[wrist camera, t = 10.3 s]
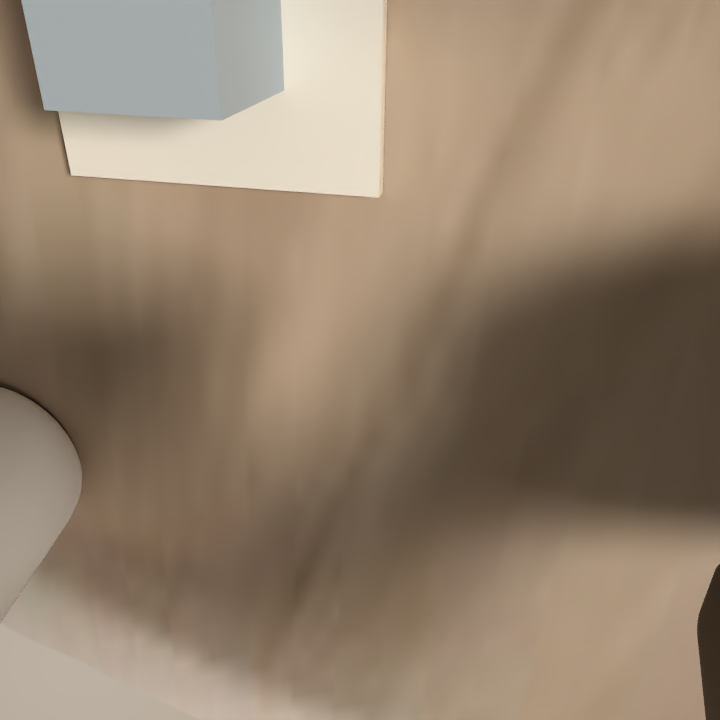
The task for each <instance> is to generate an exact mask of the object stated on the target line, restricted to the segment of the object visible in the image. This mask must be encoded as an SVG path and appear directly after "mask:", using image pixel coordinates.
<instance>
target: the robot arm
mask: <svg viewBox="0 0 720 720" xmlns="http://www.w3.org/2000/svg"><path fill="white" fill-rule="evenodd" d="M697 636H698V646H699V656H700V666H701V676H702V686H703V696H704V706H705V716H706V720H720V564H719V565H718V566H717V568H716V570H715V572H714V575H713V577H712V580H711V583H710V585H709V588H708V591H707V593H706V596H705V599H704V601H703V604H702V607H701V610H700V613H699V617H698V625H697Z"/></svg>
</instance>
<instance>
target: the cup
mask: <svg viewBox="0 0 720 720" xmlns="http://www.w3.org/2000/svg"><path fill="white" fill-rule="evenodd" d="M81 489H82V469H81V464H80V460H79V457H78V454H77V452H76V449H75V447H74V445H73V443H72V442H71V440H70V438H69V436H68V435H67V433H66V432H65V431H64V430H63V428H62V427H61V426H60V425H59V423H58V422H57V421H56V420H55V419H54V418H53V417H52V416H51V415H50V414H49V413H47V412H46V411H45V410H44V409H42V408H41V407H40V406H38V405H37V404H36V403H34V402H33V401H31V400H29V399H28V398H26V397H24V396H22V395H20V394H18V393H16V392H13V391H11V390H8V389H5V388H2V387H0V623H1V621H2V620H3V618H4V617H5V615H6V614H7V612H8V611H9V609H10V608H11V606H12V605H13V603H14V602H15V600H16V599H17V597H18V596H19V594H20V593H21V592H22V590H23V589H24V587H25V586H26V584H27V583H28V581H29V580H30V578H31V577H32V575H33V574H34V572H35V571H36V569H37V568H38V566H39V565H40V563H41V562H42V560H43V559H44V557H45V556H46V554H47V553H48V551H49V550H50V548H51V547H52V545H53V544H54V542H55V541H56V539H57V538H58V536H59V535H60V533H61V532H62V530H63V529H64V527H65V525H66V524H67V522H68V521H69V519H70V517H71V516H72V514H73V512H74V510H75V507H76V505H77V503H78V500H79V497H80V493H81Z"/></svg>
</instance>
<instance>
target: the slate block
mask: <svg viewBox="0 0 720 720" xmlns="http://www.w3.org/2000/svg"><path fill="white" fill-rule="evenodd" d="M21 1H22V6H23V11H24V16H25V20H26V25H27V30H28V35H29V40H30V44H31V49H32V54H33V59H34V63H35V68H36V73H37V78H38V82H39V87H40V92H41V97H42V102H43V106H44V110H50V111H67V112H84V113H101V114H118V115H135V116H153V117H170V118H187V119H204V120H221V121H222V120H224V119H226V118H228V117H230V116H232V115H234V114H236V113H238V112H241V111H243V110H245V109H247V108H249V107H251V106H253V105H255V104H257V103H259V102H261V101H263V100H265V99H268V98H270V97H272V96H274V95H276V94H278V93H280V92H282V91H284V68H283V44H282V19H281V0H21Z"/></svg>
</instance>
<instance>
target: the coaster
mask: <svg viewBox="0 0 720 720" xmlns="http://www.w3.org/2000/svg"><path fill="white" fill-rule="evenodd" d="M281 19H282V44H283V68H284V91H282V92H280V93H278V94H276V95H274V96H272V97H270V98H268V99H265V100H263V101H261V102H259V103H257V104H255V105H253V106H251V107H249V108H247V109H245V110H243V111H241V112H238V113H236V114H234V115H232V116H230V117H228V118H226V119H224V120H222V121H221V120H204V119H187V118H170V117H153V116H135V115H118V114H101V113H84V112H67V111H58V113H59V118H60V123H61V128H62V133H63V137H64V142H65V147H66V152H67V157H68V162H69V167H70V172H71V175H74V176H88V177H101V178H115V179H129V180H143V181H157V182H170V183H184V184H198V185H212V186H226V187H239V188H253V189H267V190H281V191H295V192H308V193H322V194H336V195H350V196H364V197H378V198H379V197H380V195H381V194H382V193H383V159H384V116H385V74H386V31H387V0H281Z"/></svg>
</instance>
